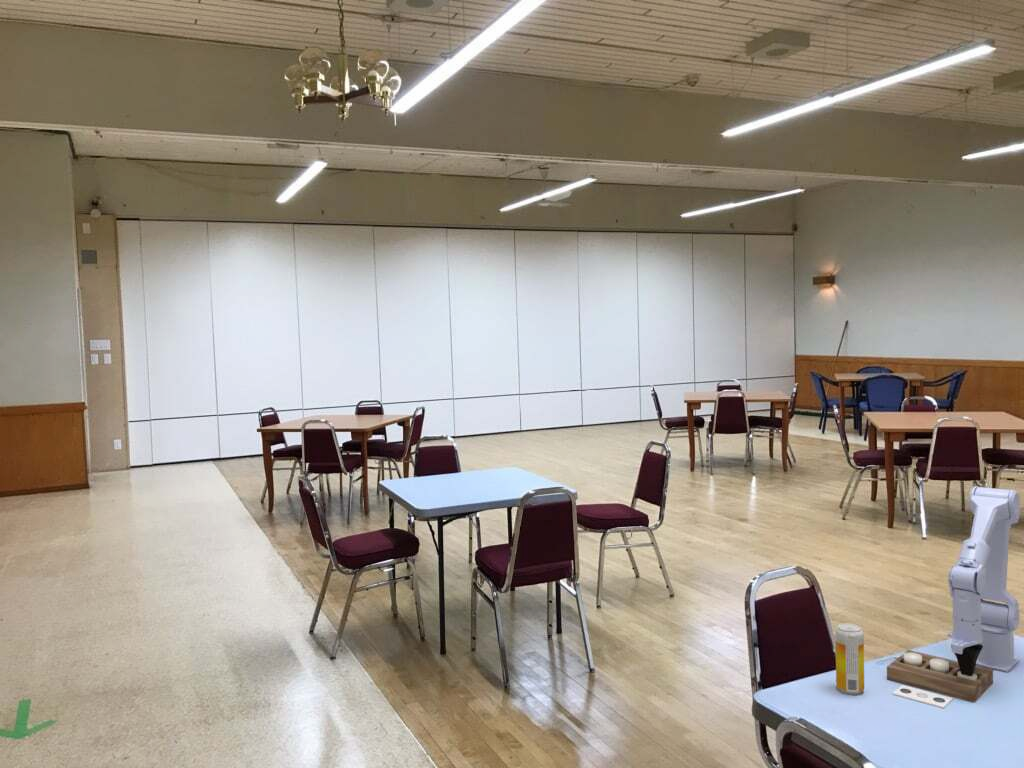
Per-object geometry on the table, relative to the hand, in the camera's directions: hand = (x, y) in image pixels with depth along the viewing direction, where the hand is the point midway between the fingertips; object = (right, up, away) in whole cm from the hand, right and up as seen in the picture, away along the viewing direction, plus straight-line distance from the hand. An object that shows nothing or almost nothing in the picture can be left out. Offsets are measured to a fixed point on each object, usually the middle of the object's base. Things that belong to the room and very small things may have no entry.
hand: (967, 675), depth 188 cm
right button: (0, -2, 0) cm, 2 cm away
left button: (-8, -1, +9) cm, 12 cm away
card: (-12, -4, -4) cm, 13 cm away
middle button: (-4, -1, +4) cm, 6 cm away
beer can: (-27, -4, +1) cm, 27 cm away
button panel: (-4, -3, +4) cm, 7 cm away
